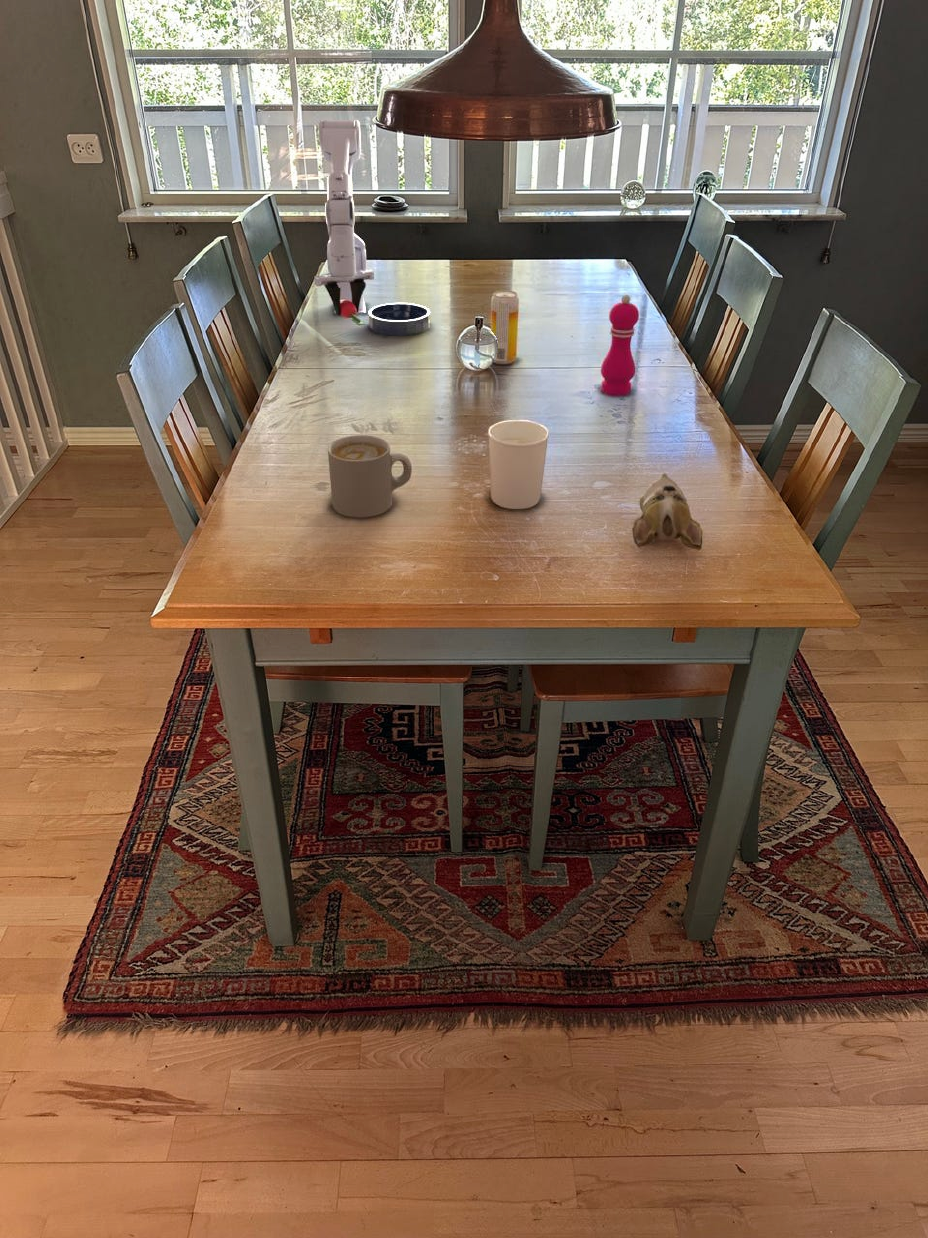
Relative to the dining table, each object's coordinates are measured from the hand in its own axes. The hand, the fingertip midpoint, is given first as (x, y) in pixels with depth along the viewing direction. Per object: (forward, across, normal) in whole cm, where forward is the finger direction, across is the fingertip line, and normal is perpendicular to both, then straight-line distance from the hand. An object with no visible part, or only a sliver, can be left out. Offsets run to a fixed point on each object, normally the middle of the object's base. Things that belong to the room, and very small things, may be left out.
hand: (346, 312), depth 220 cm
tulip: (+1, 0, -3) cm, 3 cm away
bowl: (+4, +13, -4) cm, 14 cm away
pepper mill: (+5, +37, -62) cm, 73 cm away
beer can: (+5, +24, -35) cm, 43 cm away
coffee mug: (+5, -29, -86) cm, 91 cm away
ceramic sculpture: (+5, +8, -117) cm, 117 cm away
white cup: (+5, -7, -95) cm, 96 cm away
